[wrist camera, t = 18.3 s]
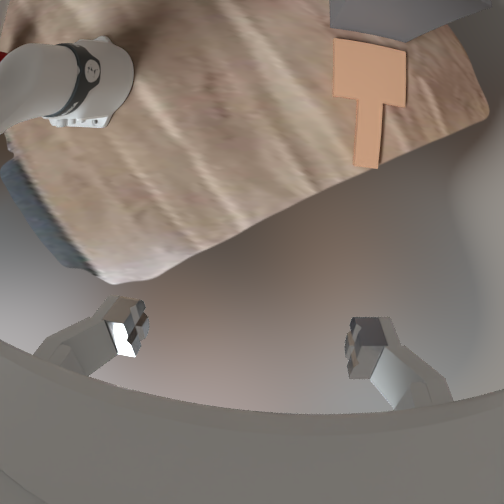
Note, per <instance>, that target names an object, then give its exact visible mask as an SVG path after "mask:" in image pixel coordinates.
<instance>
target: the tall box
mask: <svg viewBox="0 0 504 504" xmlns="http://www.w3.org/2000/svg"><path fill="white" fill-rule="evenodd" d="M329 1H330V28H336V29H343V30H350V31H356V32H361V33H367V34H372V35H377V36H381V37H386V38H390V39H394V40H398V41H402V42H405V43H406V42H408V41H410V40H412V39H414V38H416V37H418V36H420V35H422V34H425V33H427V32H429V31H431V30H434V29H436V28H438V27H441V26H443V25H445V24H448V23H450V22H453V21H455V20H458V19H460V18H463V17H465V16H468V15H471V14H473V13H476V12H479V11H482V10H485V9H488V8H491V7H492V3H491V0H329Z"/></svg>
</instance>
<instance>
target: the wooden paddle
mask: <svg viewBox="0 0 504 504" xmlns="http://www.w3.org/2000/svg"><path fill="white" fill-rule="evenodd" d="M333 97H341V98H349V99H356V100H357V107H356V127H355V142H354V155H353V165H354V166H359V167H368V168H376V169H377V168H378V161H379V151H380V140H381V127H382V110H383V104H386V105H391V106H396V107H401V108H405V99H406V52H404V51H400V50H396V49H392V48H388V47H384V46H379V45H374V44H369V43H364V42H358V41H352V40H345V39H338V38H334V39H333Z"/></svg>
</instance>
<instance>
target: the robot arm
mask: <svg viewBox="0 0 504 504" xmlns="http://www.w3.org/2000/svg"><path fill="white" fill-rule="evenodd" d="M9 2H10V0H0V37H1V33H2V29H3V25H4V21H5V17H6V13H7V9H8V5H9ZM133 77H134V68H133V63H132V60H131V58H130V56H129V54H128V53H127V52H126V51H125V50H124V49H122V48H121V47H118V46H116V45H114V44H113V43H112V42H111V40H110V39H109V38H108V37H107V36H100V37H98V38H96V39H94V40H86V39H80V40H78V41H77V42H75V43H74V44H72V43H64V44H63V43H62V44H57V45H49V44H37V43H28V44H25V45H22V46H20V47H18V48H16V49H14V50H13V51H11V52H10V53H9V54H8V55H6V56H5V57H4V58H3V60H2V61H1V62H0V135H1V134H2V133H3V132H5V131H6V130H7V129H9V128H10V127H12V126H13V125H16V124H18V123H20V122H23V121H26V120H30V119H33V118H37V117H42V118H44V119H49V121H50V123H51V124H52V125H53V126H57V127H65V126H74V127H93V128H104V127H106V126H107V124H108V123H109V121H110V119H111V116H112V114H113V113H114V112H115V111H116V110H117V109H118V108H119V107H120V106H121V105H122V103H123V102H124V101H125V99H126V98H127V96H128V94H129V92H130V90H131V87H132V83H133ZM97 120H98V123H97V122H96V121H97ZM145 308H146V307H145V304H144V301H142V300H140V299H134V298H128V297H122V296H116V295H110V296H108V297H107V299H106V300H105V301H104V303H103V304H102V305H101V306H100V308H99V309H98V310H97V311H96V313H95V314H94V315H93V316H92V318H90V317H88V318H86V319H84V320H82V321H80V322H78V323H76V324H74V325H71V326H69V327H67V328H65V329H63V330H61V331H59V332H57V333H55V334H53V335H51V336H49V337H47V338H46V339H45V340H44V341H43V343H42V344H41V345H40V346H39V348H38V349H37V350H36V352H35V353H34V354H33V355H31V354H29V353H27V352H25V351H23V350H21V349H18V348H16V347H14V346H12V345H10V344H8V343H6V342H4V341H2V340H0V504H504V389H502V390H498V391H495V392H491V393H488V394H484V395H480V396H476V397H472V398H468V399H463V400H458V401H453V398H452V395H451V392H450V390H449V387H448V384H447V382H446V379H445V378H444V377H443V376H442V375H441V374H439V373H438V372H437V371H436V370H434V369H433V368H432V367H431V366H429V365H428V364H427V363H426V362H424V361H423V360H422V359H421V358H419V357H418V356H417V355H416V354H414V353H413V352H412V351H411V350H409V349H408V348H407V347H406V346H401V343H400V341H399V338H398V335H397V333H396V330H395V328H394V325H393V323H392V320H391V318H390V317H353V318H352V319H351V322H350V329H351V331H350V332H349V333H347V336H346V340H345V356H346V358H347V359H348V360H349V361H348V364H347V368H348V374H349V379H370V381H371V382H372V383H373V384H374V386H375V387H376V388H377V389H378V390H379V392H380V393H381V394H382V395H383V396H384V398H385V399H386V400H387V401H388V402H389V404H391V406H392V407H393V408H394V410H393V411H383V412H371V413H352V414H291V413H273V412H259V411H249V410H239V409H231V408H223V407H216V406H209V405H202V404H197V403H191V402H185V401H180V400H175V399H170V398H165V397H161V396H156V395H152V394H148V393H143V392H140V391H136V390H131V389H128V388H124V387H121V386H117V385H114V384H110V383H107V382H104V381H101V380H97V379H94V378H91V377H88V376H89V375H90V374H92V373H93V372H95V371H96V370H97V369H98V368H100V367H101V366H103V365H104V364H105V363H107V362H108V361H110V360H111V359H112V358H114V357H115V356H116V355H118V354H122V355H127V356H132V357H136V355H137V353H138V351H139V349H140V347H141V343H140V341H141V340H143V339H145V338H146V336H147V334H148V330H149V319H148V316H147V315H146V314H145V313H144V310H145Z"/></svg>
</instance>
